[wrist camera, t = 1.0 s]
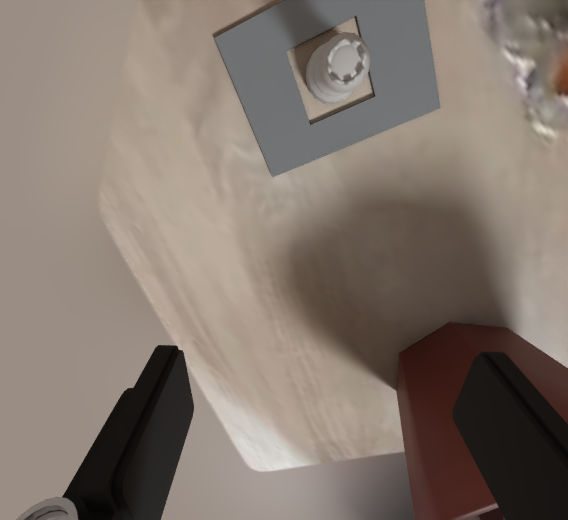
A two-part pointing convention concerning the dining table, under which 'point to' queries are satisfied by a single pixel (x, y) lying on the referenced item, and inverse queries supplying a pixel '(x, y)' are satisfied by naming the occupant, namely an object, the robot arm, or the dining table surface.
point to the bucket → (439, 421)
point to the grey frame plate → (283, 89)
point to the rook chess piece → (337, 67)
